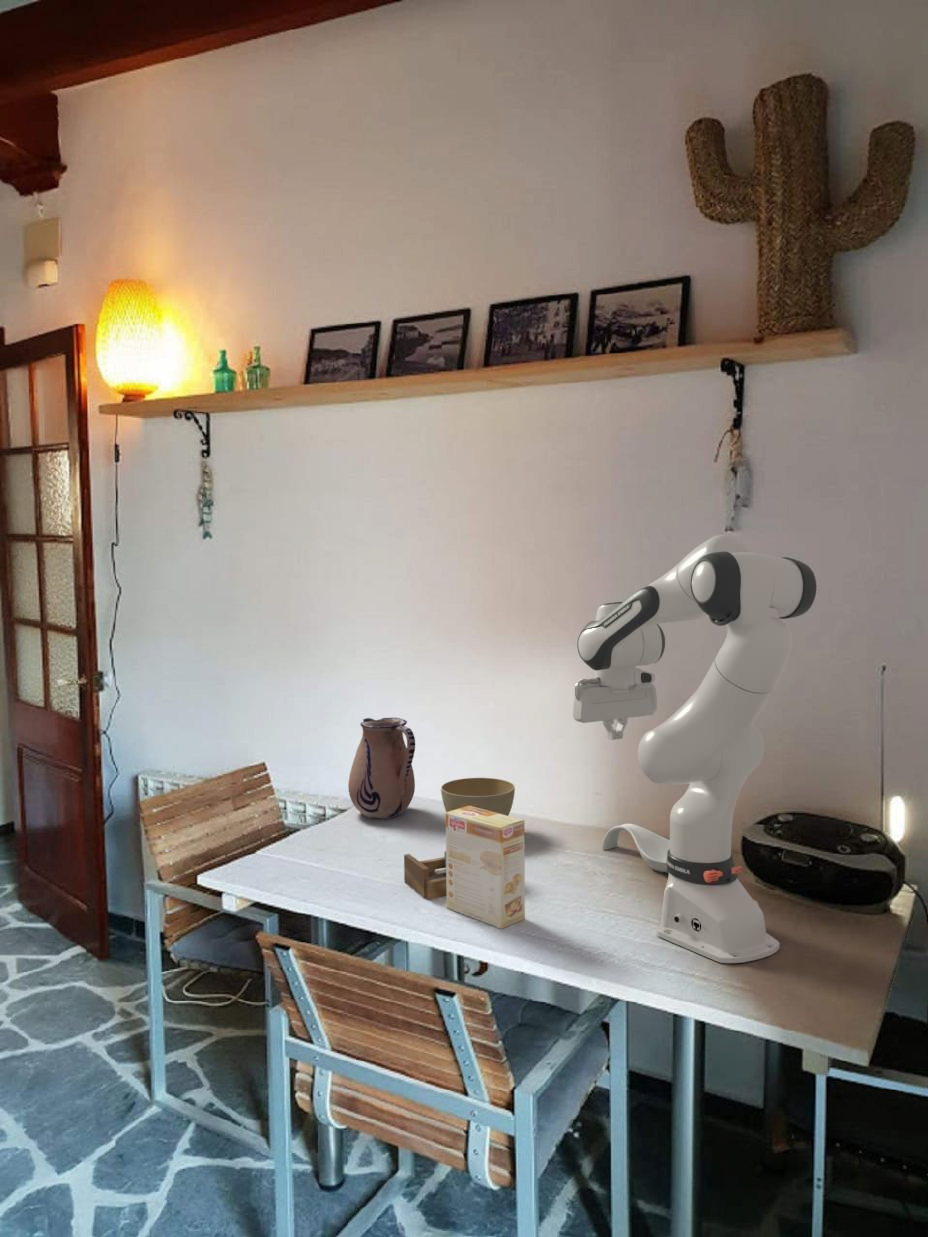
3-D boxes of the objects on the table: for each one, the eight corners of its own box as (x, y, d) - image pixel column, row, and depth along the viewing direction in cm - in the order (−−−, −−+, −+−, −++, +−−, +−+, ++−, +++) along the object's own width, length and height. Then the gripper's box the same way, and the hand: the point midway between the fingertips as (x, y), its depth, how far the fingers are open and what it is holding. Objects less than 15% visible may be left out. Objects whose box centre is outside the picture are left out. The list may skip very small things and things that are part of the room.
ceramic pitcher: (378, 801, 262) (376, 712, 260) (439, 813, 250) (438, 720, 248) (335, 817, 248) (333, 722, 246) (397, 830, 236) (396, 732, 234)
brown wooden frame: (487, 864, 211) (487, 838, 210) (515, 882, 200) (515, 855, 199) (402, 880, 202) (401, 853, 201) (426, 900, 191) (425, 871, 190)
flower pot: (520, 826, 239) (520, 778, 238) (507, 849, 221) (507, 798, 220) (451, 821, 243) (451, 775, 242) (433, 844, 225) (432, 794, 224)
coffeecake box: (526, 919, 181) (526, 819, 179) (501, 930, 176) (500, 828, 174) (470, 898, 192) (469, 804, 190) (445, 908, 187) (444, 811, 185)
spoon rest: (706, 870, 207) (707, 838, 206) (672, 883, 200) (672, 850, 199) (624, 843, 225) (624, 814, 225) (590, 854, 218) (590, 824, 217)
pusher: (449, 873, 205) (449, 850, 204) (468, 886, 197) (468, 863, 196) (427, 877, 202) (426, 854, 202) (445, 891, 194) (444, 867, 194)
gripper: (583, 681, 198) (583, 746, 199) (661, 674, 208) (661, 736, 209) (567, 678, 204) (567, 741, 205) (643, 671, 213) (643, 731, 214)
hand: (615, 738), depth 207 cm, fingers closed
